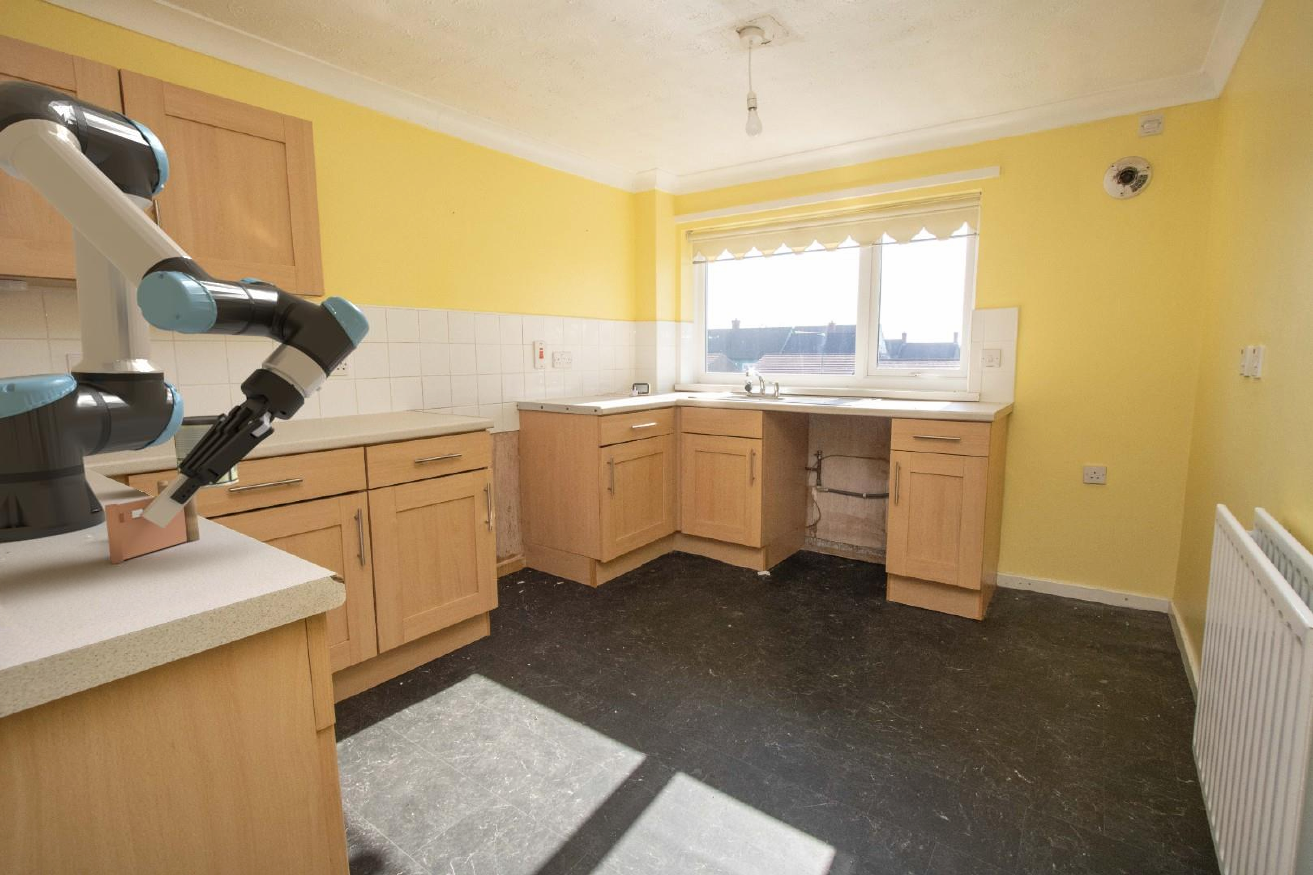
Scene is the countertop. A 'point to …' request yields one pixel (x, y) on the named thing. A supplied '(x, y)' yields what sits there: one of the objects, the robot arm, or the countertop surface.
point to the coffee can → (188, 439)
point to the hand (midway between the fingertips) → (151, 521)
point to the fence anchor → (186, 515)
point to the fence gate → (139, 531)
